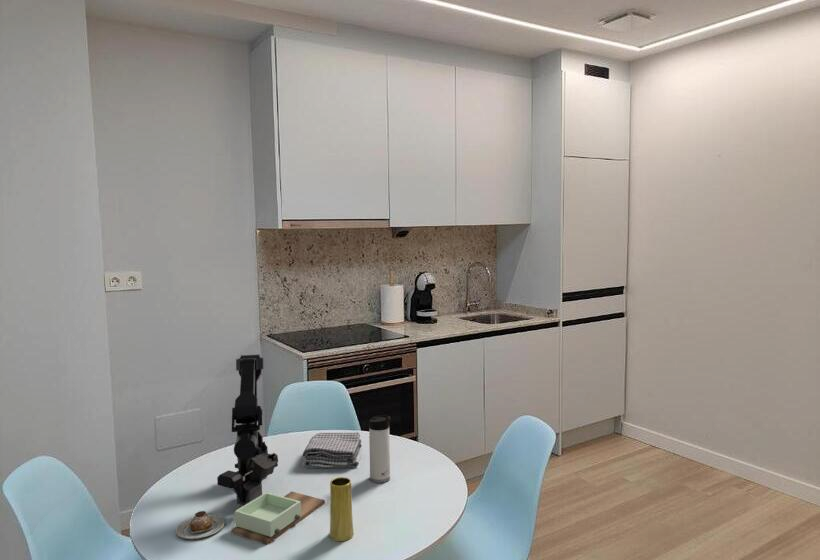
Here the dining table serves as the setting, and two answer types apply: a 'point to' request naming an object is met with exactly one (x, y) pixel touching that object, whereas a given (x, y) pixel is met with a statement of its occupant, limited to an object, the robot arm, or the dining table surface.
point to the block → (251, 492)
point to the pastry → (200, 525)
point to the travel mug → (379, 449)
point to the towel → (333, 450)
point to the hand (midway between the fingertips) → (249, 498)
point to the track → (307, 508)
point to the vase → (341, 509)
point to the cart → (268, 514)
